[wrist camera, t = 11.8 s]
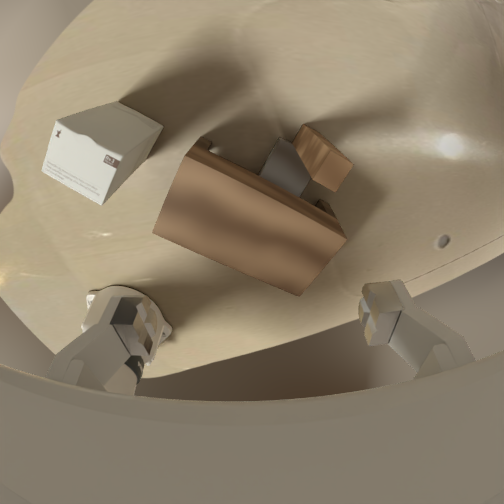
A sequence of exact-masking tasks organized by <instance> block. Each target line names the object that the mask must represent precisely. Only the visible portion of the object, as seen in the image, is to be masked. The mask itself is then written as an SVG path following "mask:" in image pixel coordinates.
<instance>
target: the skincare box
mask: <svg viewBox="0 0 504 504" xmlns="http://www.w3.org/2000/svg"><path fill="white" fill-rule="evenodd" d="M163 127H164V126H162V125H161V124H159V123H157V122H156V121H154V120H152V119H150V118H148V117H146V116H145V115H143V114H141V113H139V112H137V111H135V110H133V109H131V108H129V107H127V106H124V105H123V104H121V103H119V102H117V101H116V102H112V103H109V104H105V105H102V106H98V107H95V108H92V109H88V110H85V111H82V112H79V113H76V114H73V115H70V116H67V117H64V118H61V119H58V120H56V123H55V126H54V129H53V132H52V135H51V139H50V142H49V146H48V149H47V153H46V157H45V160H44V163H43V167H42V172H44V173H45V174H47V175H49V176H50V177H52V178H54V179H56V180H57V181H59V182H61V183H63V184H64V185H66V186H68V187H69V188H71V189H73V190H75V191H76V192H78V193H80V194H82V195H84V196H85V197H87V198H89V199H91V200H92V201H94V202H96V203H98V204H99V205H101V206H102V205H103V204H104V203H105V202H106V201H107V200H108V199H109V198H110V196H111V195H112V194H113V193H114V192H115V191H116V190H117V189H118V188H119V187H120V186H121V185H122V184H123V183H124V182H125V180H126V179H127V178H128V177H129V176H130V175H131V174H132V173H133V172H134V171H135V170H136V169H137V168H138V167H139V166H140V165H141V164H142V163H143V162H144V161H145V160H146V158H147V156H148V154H149V152H150V151H151V149H152V147H153V145H154V143H155V141H156V140H157V138H158V136H159V134H160V132H161V131H162V129H163Z"/></svg>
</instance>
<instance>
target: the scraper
mask: <svg viewBox="0 0 504 504" xmlns="http://www.w3.org/2000/svg"><path fill="white" fill-rule="evenodd" d="M353 165H354V164H353V163H352V162H351V161H350V160H348V159H347V158H346V157H345V156H344V155H343V154H342V153H341V152H340V151H339V150H338V149H337V148H336V147H335V146H333V145H332V144H331V143H330V142H329V141H328V140H327V139H326V138H325V137H323V136H322V135H321V134H320V133H319V132H317V131H315V130H313V129H312V128H310V127H308V126H306V125H305V124H303V125H302V127H301V129H300V130H299V132H298V134H297V135H296V137H295V139H294V140H293V142H292V143H291V142H289V141H287V140H285V139H283V138H281V137H279V139H278V141H277V142H276V144H275V146H274V148H273V149H272V151H271V153H270V155H269V157H268V158H267V160H266V162H265V164H264V166H263V167H262V169H261V171H260V173H259V175H258V176H260V177H262V178H264V179H266V180H268V181H270V182H272V183H273V184H275V185H277V186H279V187H281V188H283V189H285V190H286V191H288V192H290V193H292V194H294V195H296V196H297V197H300V195H301V194H302V192H303V190H304V189H305V187H306V186H307V184H308V182H309V181H310V179H311V178H312V180H314V181H316V182H317V183H319V184H321V185H323V186H325V187H327V188H328V189H330V190H332V191H334V192H336V191H337V189H338V188H339V186H340V185H341V183H342V182H343V180H344V179H345V177H346V176H347V174H348V173H349V171H350V169H351V168H352V166H353Z"/></svg>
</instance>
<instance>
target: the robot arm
mask: <svg viewBox="0 0 504 504" xmlns="http://www.w3.org/2000/svg"><path fill="white" fill-rule="evenodd" d="M362 294H363V296H364V297H363V298H362V299H361V300H360V302H359V307H358V314H359V319H360V322H361V324H362V325H363V326H364V327H366V328H365V332H364V334H365V337H366V340H367V343H368V346H373V345H381V344H388V345H389V346H390V347H391V348H392V349H393V350H394V351H395V352H397V353H398V354H399V355H400V356H401V357H402V358H403V359H404V360H405V361H406V362H407V363H408V364H409V365H410V366H411V367H412V368H413V369H414V370H415V371H416V372H417V374H416V376H415V377H414V379H413V380H411V381H406V382H402V383H398V384H393V385H389V386H383V387H378V388H373V389H368V390H362V391H356V392H351V393H344V394H336V395H329V396H320V397H312V398H301V399H290V400H274V401H248V402H247V401H246V402H215V401H188V400H173V399H160V398H151V397H141V396H134V392H135V388H136V385H137V384H138V383H139V381H140V379H141V377H142V374H143V368H144V364H146V365H150V364H151V362H152V361H153V360H154V358H155V355H156V352H157V349H158V346H159V345H160V344H161V343H162V342H163V341H164V340H165V339H166V338H167V337H168V336H169V335H170V334H171V332H172V327H171V326H170V325H169V324H168V323H167V322H166V321H165V320H164V318H163V316H162V313H161V311H160V310H159V308H158V307H157V305H156V304H155V303H154V302H153V301H152V300H151V299H149V297H148V296H146V295H144V294H142V293H140V292H138V291H136V290H134V289H131V288H128V287H123V286H110V287H107V288H105V289H103V290H101V291H90V292H88V294H87V296H86V298H87V306H88V311H87V314H86V316H85V318H84V320H83V323H82V326H81V327H82V329H83V333H82V334H81V335H80V336H79V337H77V338H76V339H75V340H74V341H72V342H71V343H70V344H68V345H67V346H66V347H65V348H63V349H62V350H61V351H60V352H58V353H57V354H56V355H55V357H54V359H53V362H52V364H51V366H50V368H49V370H48V373H47V375H46V377H45V378H43V377H39V376H36V375H33V374H29V373H26V372H23V371H19V370H16V369H13V368H10V367H7V366H5V365H2V364H0V504H504V350H503V351H500V352H498V353H495V354H493V355H491V356H488V357H485V358H482V359H480V360H477V361H476V360H475V358H474V356H473V354H472V352H471V350H470V348H469V346H468V344H467V342H466V340H465V338H464V337H463V336H462V335H460V334H459V333H457V332H456V331H454V330H453V329H451V328H450V327H448V326H447V325H445V324H444V323H442V322H441V321H439V320H438V319H436V318H435V317H433V316H432V315H430V314H429V313H427V312H426V311H424V310H423V309H421V308H417V307H416V305H415V303H414V301H413V300H412V298H411V296H410V294H409V292H408V291H407V289H406V287H405V285H404V284H403V282H402V281H401V280H393V281H386V282H376V283H367V284H364V286H363V288H362Z"/></svg>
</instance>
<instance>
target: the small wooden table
mask: <svg viewBox="0 0 504 504" xmlns="http://www.w3.org/2000/svg"><path fill="white" fill-rule="evenodd" d="M211 142H212V141H209V140H207V139H205V138H203V137H200V138H199V139H198V140H197V141H196V143H195V144H194V145H193V146H192V147H191V149H190V150H189V151H188V152H187V153H186V155H185V156H184V158H183V160H182V163H181V165H180V167H179V169H178V171H177V174H176V176H175V178H174V180H173V183H172V185H171V187H170V190H169V192H168V194H167V197H166V199H165V201H164V204H163V206H162V209H161V211H160V214H159V216H158V219H157V221H156V224H155V226H154V229H153V232H152V233H154V234H156V235H158V236H160V237H162V238H165V239H167V240H169V241H171V242H174V243H176V244H178V245H180V246H182V247H185V248H187V249H189V250H191V251H194V252H196V253H198V254H201V255H203V256H205V257H207V258H210V259H212V260H214V261H217V262H219V263H221V264H223V265H226V266H228V267H230V268H233V269H235V270H237V271H240V272H242V273H244V274H247V275H249V276H251V277H254V278H256V279H258V280H261V281H263V282H265V283H268V284H270V285H273V286H275V287H277V288H280V289H282V290H284V291H287V292H289V293H292V294H294V295H296V296H300V295H301V294H302V293H303V292H304V291H305V289H306V288H307V287H308V286H309V285H310V284H311V283H312V281H313V280H314V279H315V278H316V277H317V276H318V274H319V273H320V272H321V271H322V270H323V268H324V267H325V266H326V265H327V264H328V262H329V261H330V260H331V259H332V258H333V256H334V255H335V254H336V253H337V252H338V250H339V249H340V248H341V247H342V245H343V244H344V243H345V242H346V241H347V238H346V236H345V234H344V232H343V230H342V228H341V226H340V224H339V222H338V220H337V218H336V217H335V215H334V213H333V211H332V209H331V207H330V205H329V204H328V203H326V202H324V201H323V200H321V199H320V200H319V201H318V203H317V204H316V206H313V205H312V204H310V203H308V202H306V201H305V200H303V199H301V198H299V197H297V196H296V195H294V194H292V193H290V192H288V191H286V190H285V189H283V188H281V187H279V186H277V185H275V184H273V183H272V182H270V181H268V180H266V179H264V178H262V177H260V176H258V175H256V174H254V173H252V172H250V171H248V170H246V169H245V168H243V167H241V166H239V165H237V164H235V163H233V162H231V161H228V160H226V159H224V158H222V157H220V156H218V155H216V154H214V153H212V152H210V151H208V148H209V146H210V144H211Z"/></svg>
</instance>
